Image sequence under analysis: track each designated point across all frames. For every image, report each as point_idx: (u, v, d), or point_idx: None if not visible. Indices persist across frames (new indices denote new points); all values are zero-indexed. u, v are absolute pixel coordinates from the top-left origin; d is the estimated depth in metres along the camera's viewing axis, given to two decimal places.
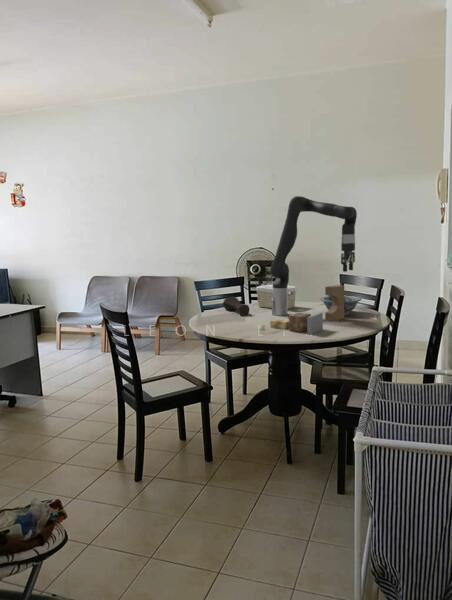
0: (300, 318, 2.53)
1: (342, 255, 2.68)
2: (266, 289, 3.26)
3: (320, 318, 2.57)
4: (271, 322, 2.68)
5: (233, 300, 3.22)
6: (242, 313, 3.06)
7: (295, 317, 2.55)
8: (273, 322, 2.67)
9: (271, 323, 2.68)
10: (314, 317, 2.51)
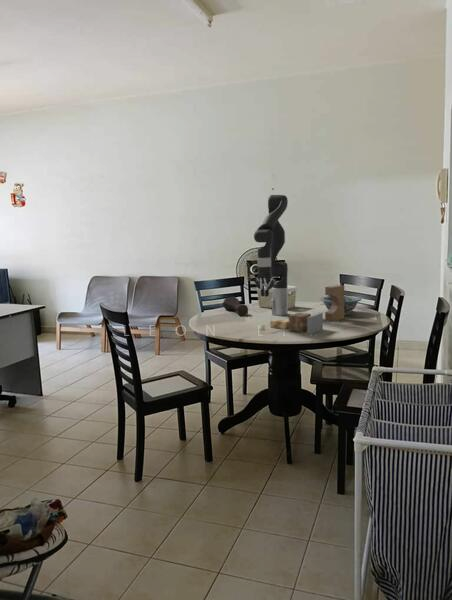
0: (300, 318, 2.53)
1: (273, 282, 2.65)
2: None
3: (320, 318, 2.57)
4: (271, 322, 2.68)
5: (233, 300, 3.21)
6: (241, 313, 3.05)
7: (295, 317, 2.55)
8: (273, 322, 2.67)
9: (271, 323, 2.68)
10: (314, 317, 2.51)
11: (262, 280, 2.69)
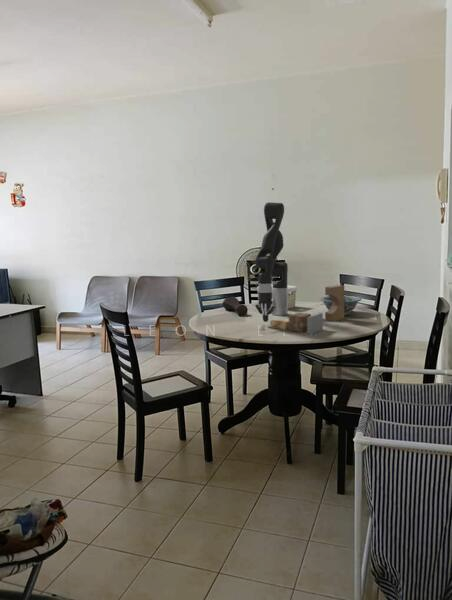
0: (300, 318, 2.53)
1: (273, 308, 2.67)
2: None
3: (320, 318, 2.57)
4: (271, 322, 2.68)
5: (232, 300, 3.21)
6: (240, 313, 3.05)
7: (295, 317, 2.55)
8: (273, 322, 2.67)
9: (271, 323, 2.68)
10: (314, 317, 2.51)
11: (263, 305, 2.70)
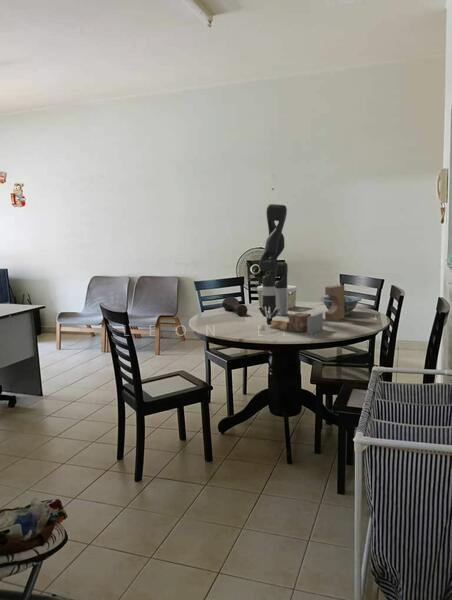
0: (300, 318, 2.53)
1: (277, 311, 2.66)
2: None
3: (320, 318, 2.57)
4: (271, 322, 2.67)
5: (232, 300, 3.21)
6: (240, 313, 3.05)
7: (295, 317, 2.55)
8: (274, 322, 2.67)
9: (271, 323, 2.67)
10: (314, 317, 2.51)
11: (267, 308, 2.69)
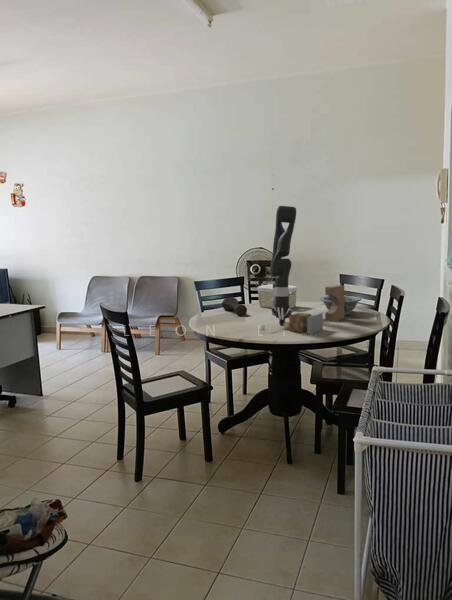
0: (300, 318, 2.53)
1: (290, 312, 2.61)
2: (267, 289, 3.27)
3: (320, 318, 2.57)
4: (284, 324, 2.62)
5: (232, 300, 3.21)
6: (239, 313, 3.04)
7: (295, 317, 2.55)
8: (286, 324, 2.62)
9: (284, 325, 2.63)
10: (314, 317, 2.51)
11: (280, 309, 2.64)
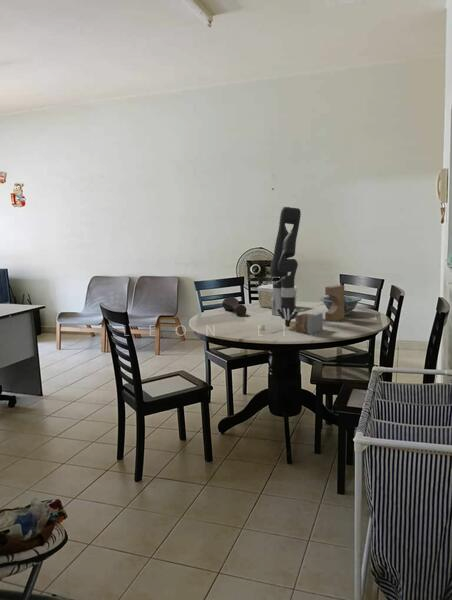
0: None
1: (296, 313, 2.59)
2: (267, 289, 3.27)
3: (320, 318, 2.57)
4: (290, 324, 2.60)
5: (232, 300, 3.21)
6: (239, 314, 3.04)
7: (302, 318, 2.53)
8: (292, 324, 2.59)
9: (290, 325, 2.60)
10: (314, 317, 2.51)
11: (286, 310, 2.62)
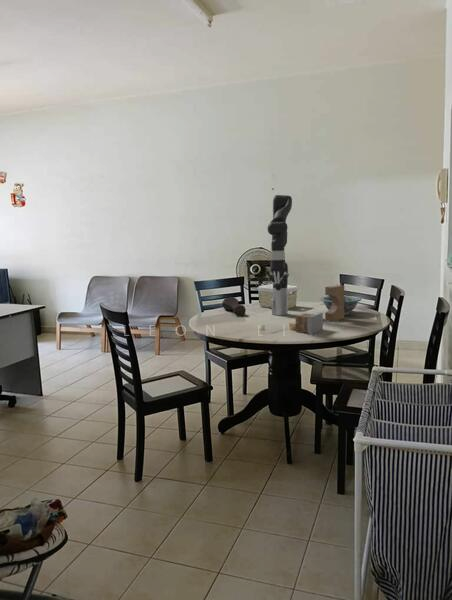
0: None
1: (286, 276, 2.59)
2: (268, 289, 3.28)
3: (320, 318, 2.57)
4: (290, 324, 2.60)
5: (231, 300, 3.20)
6: (238, 314, 3.04)
7: (302, 318, 2.53)
8: (292, 324, 2.59)
9: (290, 325, 2.60)
10: (314, 317, 2.51)
11: (276, 273, 2.62)
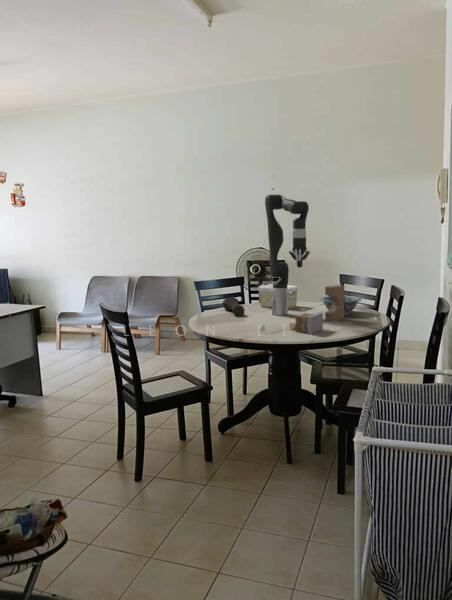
0: None
1: (308, 253, 2.71)
2: (268, 289, 3.28)
3: (320, 318, 2.57)
4: (290, 324, 2.60)
5: (231, 300, 3.20)
6: (236, 314, 3.03)
7: (302, 318, 2.53)
8: (292, 324, 2.60)
9: (290, 325, 2.60)
10: (314, 317, 2.51)
11: (297, 251, 2.74)
